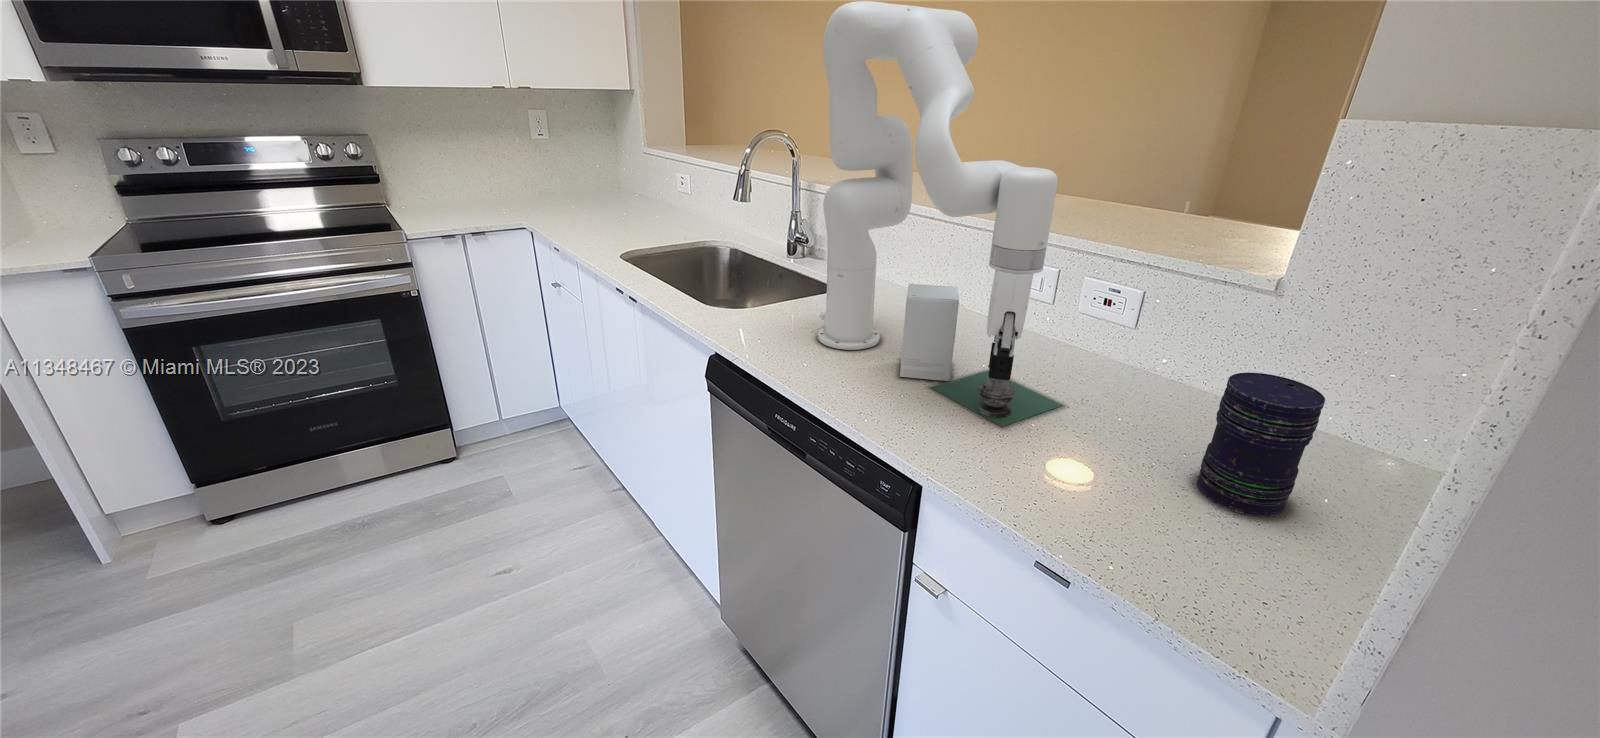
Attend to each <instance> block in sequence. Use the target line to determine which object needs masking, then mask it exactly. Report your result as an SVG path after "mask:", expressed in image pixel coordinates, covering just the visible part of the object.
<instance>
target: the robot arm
mask: <svg viewBox="0 0 1600 738" xmlns="http://www.w3.org/2000/svg"><path fill="white" fill-rule="evenodd" d="M822 41H823V42H822V55H823V56H822V57H823V64H824V70H825V75H826V78H827V84H828V85H827V86H828V95H829V97H828V98H829V99H828V101H829V102H828V103H829V104H828V107H829V110H828V111H829V145H830V155H831V156H830V157H831V160H832V162H833V164H834V166H835V167H836V168H838V169H839V170H842V171H845V172H846V171H849V172H859V171H872V170H873V171H874V176H873V177H871V176H870V177H867V176H866V177H857V178H847V179H843V180H840V181H837V182H835V183H834V184H832V185H831V186H830V187H828V189H827V191H826V192H825V194H824V197H823V201H822V202H823V203H822V206H823V209H822V210H823V215H824V222H825V229H826V239H827V255H826V256H827V259H826V264H827V266H826V267H827V268H826V302H825V304H826V305H825V306H826V307H825V308H826V309H825V312H823V311H822V312H820V314H819V318H820V319H821V320H823V321H824V323H823V327H822V328H820V329H819V330H818V332H817V339H818V341H819V342H820V343H821V344H822V345H824V346H827V347H829V348H833V349H836V350H837V349H838V350H845V351H846V350H847V351H856V350H857V351H858V350H864V349H870V348H873V347H874V346H876V345H878V344H879V343H880V339H881V335H880V332H879V331H877V329H875V328H874V313H875V312H874V311H875V310H874V309H875V296H876V279H877V278H876V277H877V257H878V255H877V249H876V245H875V244H874V241H873V240H872V237H871V235H870V233H869V231H870V230H871V231H872V230H875V229H882V228H888V227H893V226H897V225H900V224H901V223H903V222H904V221H905V220H906V219H907V218H908V215H909V214H910V212H911V207H912V202H913V201H912V199H913V171H914V170H913V167H914V166H913V165H914V164H913V163H914V157H915V164H916V169H917V173H918V175H919V177H920V180H921V181H922V184H923V186H924V189H925V191H926V193H927V194H928V197H929V198H930V201H931V202H932V204H933V206H935V208H936V209H937V210H938V211H939V212H940V213H942V214H943V215H944V216H945V215H946V216H947V217H952V218H960V217H968V216H969V217H970V216H974V215H975V216H976V215H985V214H994V213H995V217H994V225H993V231H992V238H991V239H992V240H991V247H990V254H989V255H990V256H989V261H988V266H989V268H991V269H993V270H994V275H993V280H992V285H991V293H990V299H989V306H988V313H987V320H986V335H987V336H988V337H992V336H994V338H993V341H992V343H991V347H990V354H989V362H988V365H989V364H990V368H988V371H989V378H992V379H1000V380H1010V381H1011V378H1012V372H1013V371H1012V370H1013V364H1014V359H1015V355H1014V351H1015V344H1016V340H1019V339H1020V338H1021V337H1022V334H1023V330H1024V326H1025V321H1026V317H1027V312H1028V306H1029V301H1030V296H1031V291H1032V284H1033V279H1034V274H1038V273H1041V272H1043V270H1044V266H1045V265H1044V264H1045V260H1046V252H1047V247H1048V241H1049V237H1050V236H1049V235H1050V230H1051V224H1052V219H1053V212H1054V208H1055V201H1056V195H1057V191H1058V180H1059V179H1058V176H1057V174H1056V173H1055V172H1054V171H1053V170H1052V169H1051V170H1050V169H1048V168H1042V167H1036V166H1035V167H1032V166H1021V165H1019V164H1016V163H1014V162H1010V161H1008V160H1002V159H1001V160H1000V159H993V160H975V161H974V160H973V161H963V162H962V159H961V158H960V156H959V153H958V151H957V149H956V146H955V144H954V141H953V138H952V136H951V122H952V121H953V120H956V118H958V117H959V116H960V115H961V114H963V113H964V112H965V111H966V110H967V109H968V108H969V106H970V105H971V104H972V102H973V101H974V97H975V87H974V85H973V82H972V81H971V79H970V76H969V74H968V72H967V70H966V69H965V67H966V66H968V65H969V64H970V63H971V61H972V60H973V59H974V57H975V56H976V53H977V51H978V46H979V34H978V29H977V27H976V24H975V22H974V20H973V19H972V18H971V17H970V16H969V15H968V14H967V13H966V12H965V13H964V12H963V11H960V10H955V9H954V10H953V9H942V8H933V7H924V6H917V5H910V4H909V5H908V4H900V3H899V4H898V3H889V2H882V1H869V0H857V1H851V2H848V3H847V2H846V3H844V4H842V5H840V6H839V7H838V8H837V9H835V10H834V11H833V12H832V14H831V16H830V17H829V19H828V21H827V24H826V26H825V29H824V34H823V39H822ZM867 60H881V61H896V62H897V65H898V67H899V69H900V72H901V74H902V76H903V78H904V81H905V83H906V85H907V88H908V90H909V92H910V94H911V97H912V99H913V102H914V103H915V106H916V108H917V110H918V113H919V116H920V120H919V124H918V127H917V131H916V136H915V146H914V144H913V137H912V134H911V131H910V128H909V126H908V124H907V123H906V122H905V121H904V120H903V119H902V118H900V117H899V116H896V115H892V114H879V113H878V88H877V85H876V81H875V79H874V76H873V74H872V72H871V70H870V68H869V67H868V65H867V64H866V61H867ZM914 147H915V149H914ZM993 349H994V353H993Z"/></svg>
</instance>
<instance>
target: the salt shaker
mask: <svg viewBox="0 0 1600 738" xmlns="http://www.w3.org/2000/svg"><path fill="white" fill-rule="evenodd" d="M993 353H994V349H993ZM987 368H988V369H989V368H990V364H989V363H988V365H987ZM977 389H978V391H979V396H980V399H981V400H982V402H981V403H979V404H978V405H977V410H978V411H979V412H980V413H982V414H984V415H986V416H990V417H997V418H998V417H1006V416H1008V415H1009V414H1010V413H1011V410H1010V408H1009V407H1007V406H1006V405H1008V404H1009V403H1010V402H1011V401H1012V399H1013V396H1015V394H1016V391H1015V389H1014V388H1013V387H1011V386H1009V384H1008V380H1000V379H992V378H989V377H988V380H987V382H983V383H981V384H979V385H978V387H977Z"/></svg>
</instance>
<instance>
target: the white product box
mask: <svg viewBox="0 0 1600 738" xmlns="http://www.w3.org/2000/svg"><path fill="white" fill-rule="evenodd" d="M906 293H907V294H906V302H905V309H904V311H905V312H904V320H903V321H904V322H903V333H902V345H901V355H900V357H901V358H900V360H901V361H900V369H899V377H901V378H912V379H921V380H930V381H931V380H933V381H941V382H943V381H944V382H951V373H952V367H953V357H954V349H955V342H956V332H957V322H958V315H959V314H958V313H959V305H960V297H959V289H958V286H952V285H935V284H924V283H923V284H921V283H908V286H907V292H906Z"/></svg>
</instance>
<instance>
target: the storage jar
mask: <svg viewBox="0 0 1600 738" xmlns="http://www.w3.org/2000/svg"><path fill="white" fill-rule="evenodd" d="M1325 403H1326V397H1325V396H1324V395H1323V393H1321V392H1320V391H1319V390H1318V389H1315V388H1314V387H1312V386H1310V385H1308V384H1305V383H1302V382H1300V381H1297V380H1295V379H1291V378H1288V377H1283V376H1280V375H1276V374H1270V373H1263V372H1262V373H1261V372H1239V373H1234V374H1231V375H1230V376H1229V377H1228V379H1227V382H1226V387H1225V388H1224V391H1223V395H1222V396H1221V398H1220V402H1219V404H1218V405H1219V406H1218V410H1217V411H1216V417H1215V420H1216V425H1215V429H1214V431H1213V435H1212V438H1211V441H1210V442H1209V443H1208V444H1207V447H1206V449H1205V453H1204V455H1203V457H1202V459H1201V463H1200V469H1199V475H1198V476H1197V479H1196V488H1197V489H1198V491H1199V492H1200V493H1201V494H1202V495H1203V496H1204V497H1205V498H1207V499H1208V500H1210V501H1211V502H1212V503H1214V504H1216V505H1218V506H1220V507H1222V508H1223V509H1226V510H1228V511H1232V512H1235V513H1238V514H1240V515H1241V514H1242V515H1245V516H1251V517H1258V518H1259V517H1260V518H1265V517H1266V518H1270V517H1275V516H1278V515H1280V514H1282V513H1283V512H1284V511H1285V508H1286V505H1287V502H1288V500H1289V498H1290V495H1291V494H1292V493H1293V491H1294V488H1295V485H1296V480H1297V478H1298V475H1299V465H1300V462H1301V459H1302V457H1303V454H1304V451H1305V449H1306V447H1307V446H1308V445H1309V444H1310V443H1311V441H1312V440H1313V438H1314V433H1315V432H1316V430H1317V427H1318V425H1319V422H1320V416H1321V414H1322V410H1323V408H1324V406H1325Z"/></svg>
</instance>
